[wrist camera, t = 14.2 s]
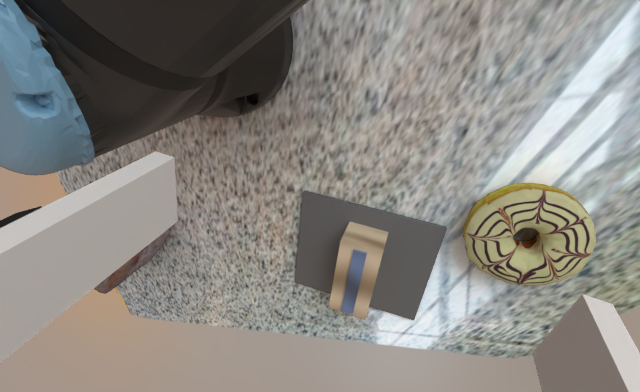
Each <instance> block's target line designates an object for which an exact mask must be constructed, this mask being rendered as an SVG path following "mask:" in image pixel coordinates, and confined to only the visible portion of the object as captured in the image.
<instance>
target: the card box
mask: <svg viewBox="0 0 640 392" xmlns="http://www.w3.org/2000/svg"><path fill="white" fill-rule="evenodd" d="M387 236H388V232H386V231H383V230H379V229H375V228H372V227H368V226H365V225H361V224H357V223H354V222H349V224H348V226H347V228H346V230H345V232H344V234H343V237H342V239H341V241H340V246H339V252H338V257H337V263H336V268H335V274H334V280H333V285H332V291H331V296H330V302H329V308H331V309H334V310H337V311H340V312H343V313H346V314H349V315H352V316H355V317H358V318H361V319H364V320H365V319H366V316H367V312H368V308H369V304H370V301H371V297H372V293H373V289H374V285H375V282H376V278H377V274H378V270H379V266H380V263H381V259H382V255H383V251H384V247H385V244H386V240H387Z"/></svg>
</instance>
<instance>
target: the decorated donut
mask: <svg viewBox="0 0 640 392" xmlns="http://www.w3.org/2000/svg"><path fill="white" fill-rule="evenodd" d="M527 227H528V228H534V229H536V231H538V233H537V236H536V238H534V239H533V240H531V241H522V242H521V241H517V240H515V239H513V235H515V234H516V233H517V232H518V231H519V230H520V229H522V228H527ZM463 237H464V240H465V248H466V251H467V256H468V258H469V259H470V260H471V261H472V262H474V263H475V264H476V265H477V268H478V269H479V270H481V271H483V272H485V273H487V274H490V275H491V276H493V277H495V278H497V279H500V280H502V281H505V282H509V283H514V284H519V285H543V284H549V283H554V282H558V281H561V280H564V279H566V278H568V277H570V276H573V275H575V274H577V273H578V272H579V271H580V270H581V269H582V268H583V267H584V265H585V264H586V262H587V261H588V259H589V258H590V256H591V254H592V251H593V249H594V247H595V244H596V236H595V229H594V223H593V221H592V220H591V218H590V216H589V215H588V213H587V211H586V210H585V209H584V208H583V206H582V205H581V204H580V203H579V202H578V201H577V200H576V199H575V198H574V197H572V195H570V194H568V192H565V191H563V190H561V189H558V188H555V187H551V186H547V185H543V184H535V183H518V184H512V185H509V186H506V187H503V188H501V189H498V190H497V191H495V192H492V193H490V194H488V195H487V196H486V197H484V198H482V199H481V200H479V201H478V202H477V203H476V204H475V206H474V207H473V208H472V209H471V211H470V213H469V216H468V219H467V221H466V222H465V224H464V229H463Z"/></svg>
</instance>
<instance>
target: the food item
mask: <svg viewBox="0 0 640 392" xmlns="http://www.w3.org/2000/svg"><path fill="white" fill-rule="evenodd" d="M170 231H171V228H169V229H168V230H166V231H165V232H164V233H163V234H161V235H160V236H159V237H158V238H156V239H155V240H154V241H153V242H151V243H150V244H149V245H147V246H146V247H145V248H144V249H142V250H141V251H140V252H139V253H137V254H136V255H135V256H134V257H132V258H131V259H130V260H129V261H127V262H126V263H125V264H124V265H122V266H121V267H120V268H119V269H117V270H116V271H115V272H114V273H112V274H111V275H110V276H109V277H107V278H106V279H105V280H104V281H102V282H101V283H100V284H99V285H97V286H96V287H95V288H94V289H95V290H97V291H98V292H100V293H107V292H109V291H111V290H112V289H113V288H115V287H116V286H118V285H119V284H121V283H122V282H123V281H124V280H125V279H126V278H127V277H129V276H130V275H131V274H132V273H133V272H135V271H136V270H137V269H139V268H140V267H141V266H143V265H145V264H146V263H147V262H148V261H149V260H150V259H151V258H153V256H154V255H155V253H156V252H157V251H158V250H159V249H160V248H161V247H162V246H163V244H164V242H165V240H166V238H167V237H168V236H169V233H170Z"/></svg>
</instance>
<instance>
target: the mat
mask: <svg viewBox="0 0 640 392" xmlns="http://www.w3.org/2000/svg"><path fill="white" fill-rule="evenodd" d="M349 222H354V223H357V224H361V225H365V226H368V227H372V228H375V229H379V230H383V231H386V232H388V236H387V240H386V244H385V247H384V251H383V255H382V259H381V263H380V266H379V270H378V274H377V278H376V282H375V285H374V289H373V293H372V297H371V301H370V304H369V306H371V307H374V308H377V309H380V310H383V311H386V312H389V313H393V314H396V315H399V316H402V317H405V318H408V319H411V320H414V319H415V316H416V313H417V310H418V308H419V305H420V302H421V299H422V296H423V294H424V291H425V288H426V285H427V282H428V280H429V277H430V274H431V271H432V268H433V266H434V263H435V260H436V257H437V254H438V252H439V249H440V246H441V243H442V240H443V238H444V235H445V232H446V227H444V226H440V225H436V224H433V223H429V222H425V221H421V220H417V219H413V218H409V217H405V216H401V215H397V214H394V213H390V212H386V211H382V210H378V209H374V208H370V207H366V206H362V205H359V204H355V203H351V202H347V201H343V200H339V199H335V198H331V197H327V196H323V195H320V194H316V193H312V192H308V191H304V192H303V199H302V210H301V221H300V232H299V242H298V253H297V264H296V275H295V282H296V283H299V284H302V285H305V286H309V287H312V288H315V289H318V290H321V291H324V292H327V293H330V294H331V291H332V285H333V280H334V274H335V268H336V263H337V257H338V252H339V246H340V241H341V239H342V237H343V234H344V232H345V230H346V228H347V226H348V224H349Z"/></svg>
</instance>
